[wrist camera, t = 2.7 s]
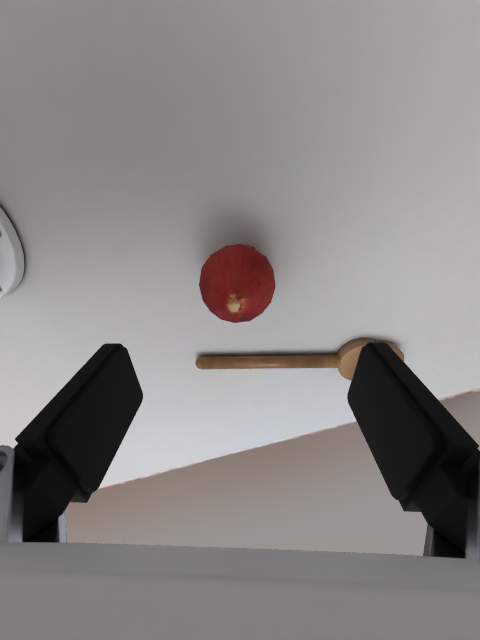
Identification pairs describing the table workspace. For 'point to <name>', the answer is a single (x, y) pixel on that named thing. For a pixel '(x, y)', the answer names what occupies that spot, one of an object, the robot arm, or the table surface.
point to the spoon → (296, 360)
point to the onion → (237, 283)
